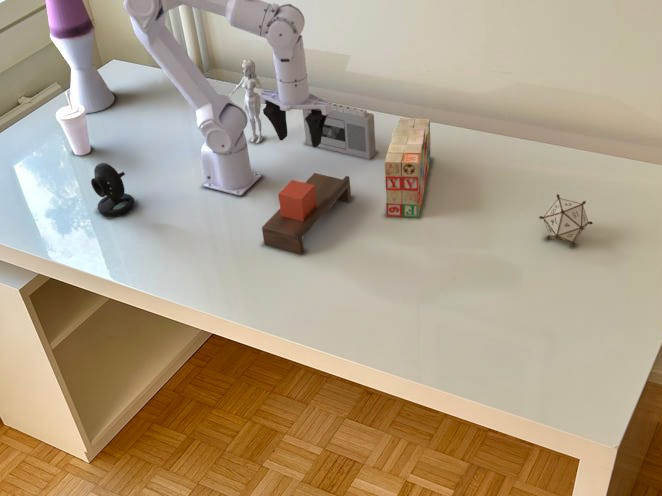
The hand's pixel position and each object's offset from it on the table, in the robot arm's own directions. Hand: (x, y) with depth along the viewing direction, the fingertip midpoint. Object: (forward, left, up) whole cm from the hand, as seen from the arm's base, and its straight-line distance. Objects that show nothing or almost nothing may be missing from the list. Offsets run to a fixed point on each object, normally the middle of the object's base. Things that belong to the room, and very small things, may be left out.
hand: (300, 141), depth 171 cm
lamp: (-67, +13, -11) cm, 69 cm away
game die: (+53, +3, -11) cm, 54 cm away
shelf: (+7, -10, -10) cm, 16 cm away
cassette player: (0, +16, -11) cm, 19 cm away
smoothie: (-54, -6, -11) cm, 56 cm away
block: (+7, -13, -6) cm, 16 cm away
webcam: (-32, -21, -11) cm, 40 cm away
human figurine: (-19, +13, -11) cm, 26 cm away
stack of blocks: (+20, +8, -11) cm, 24 cm away
